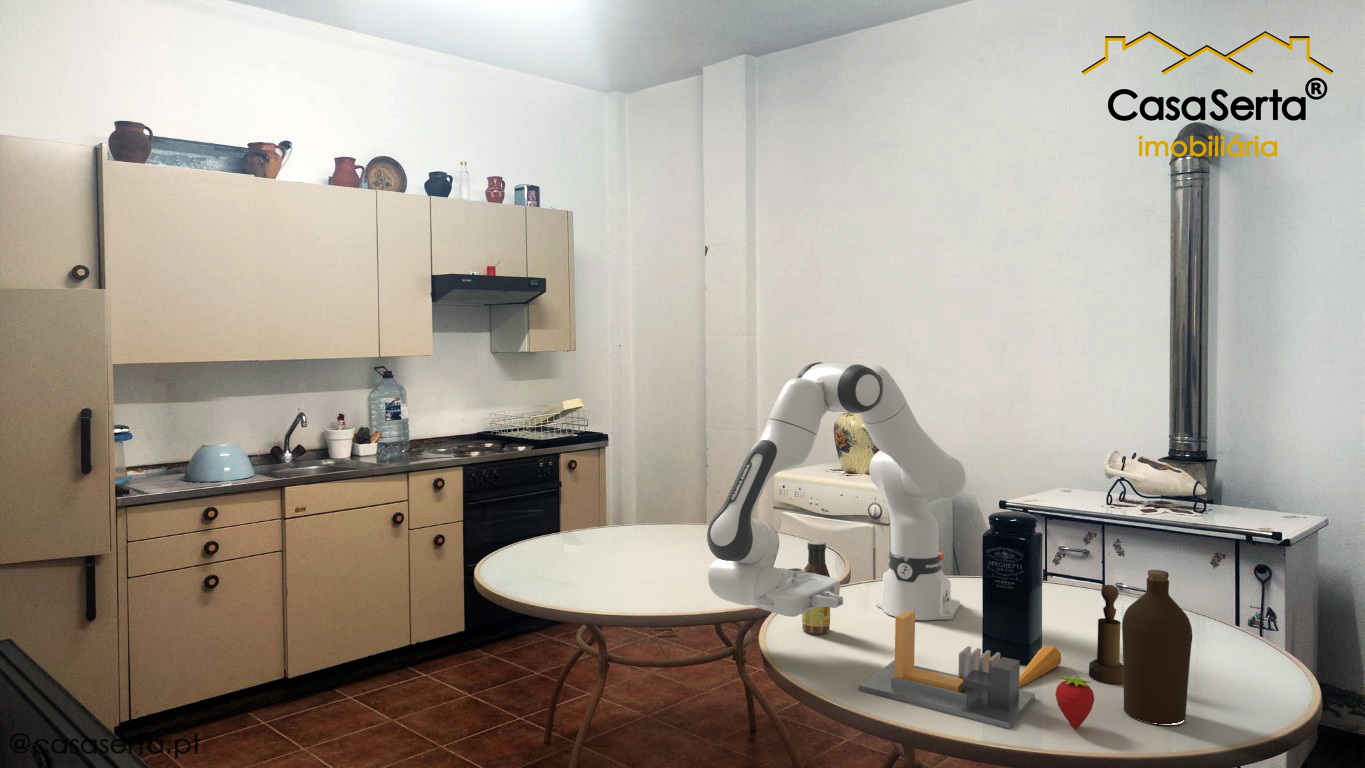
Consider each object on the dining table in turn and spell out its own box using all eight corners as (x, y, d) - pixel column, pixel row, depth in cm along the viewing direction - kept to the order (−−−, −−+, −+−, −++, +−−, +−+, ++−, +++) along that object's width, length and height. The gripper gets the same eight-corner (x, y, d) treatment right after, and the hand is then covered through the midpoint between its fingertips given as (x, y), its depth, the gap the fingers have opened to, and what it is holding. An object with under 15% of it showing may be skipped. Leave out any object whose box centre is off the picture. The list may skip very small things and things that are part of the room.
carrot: (1047, 666, 176) (1038, 644, 177) (1068, 663, 173) (1059, 641, 174) (1005, 704, 162) (995, 680, 163) (1027, 701, 159) (1017, 677, 160)
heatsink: (893, 665, 173) (894, 625, 173) (1035, 698, 157) (1036, 654, 157) (858, 690, 161) (859, 647, 160) (1009, 728, 145) (1010, 681, 144)
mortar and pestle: (1128, 676, 169) (1130, 584, 168) (1125, 687, 163) (1128, 592, 163) (1090, 669, 172) (1092, 579, 172) (1087, 680, 167) (1089, 586, 166)
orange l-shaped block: (906, 672, 166) (907, 609, 166) (966, 686, 160) (967, 621, 159) (894, 680, 162) (895, 617, 162) (956, 695, 155) (957, 629, 155)
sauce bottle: (829, 636, 191) (830, 546, 190) (800, 634, 192) (801, 545, 192) (830, 627, 197) (831, 540, 197) (802, 625, 199) (803, 539, 198)
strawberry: (1051, 732, 143) (1053, 672, 143) (1057, 716, 150) (1058, 658, 150) (1091, 740, 140) (1093, 679, 140) (1095, 723, 147) (1096, 664, 147)
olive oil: (1142, 728, 145) (1146, 580, 144) (1107, 703, 156) (1111, 564, 155) (1203, 727, 146) (1208, 579, 145) (1165, 702, 156) (1169, 564, 155)
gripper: (752, 584, 171) (815, 597, 162) (802, 566, 187) (862, 577, 179) (751, 616, 171) (814, 630, 163) (801, 595, 187) (861, 607, 179)
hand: (840, 602), depth 171 cm, fingers closed
